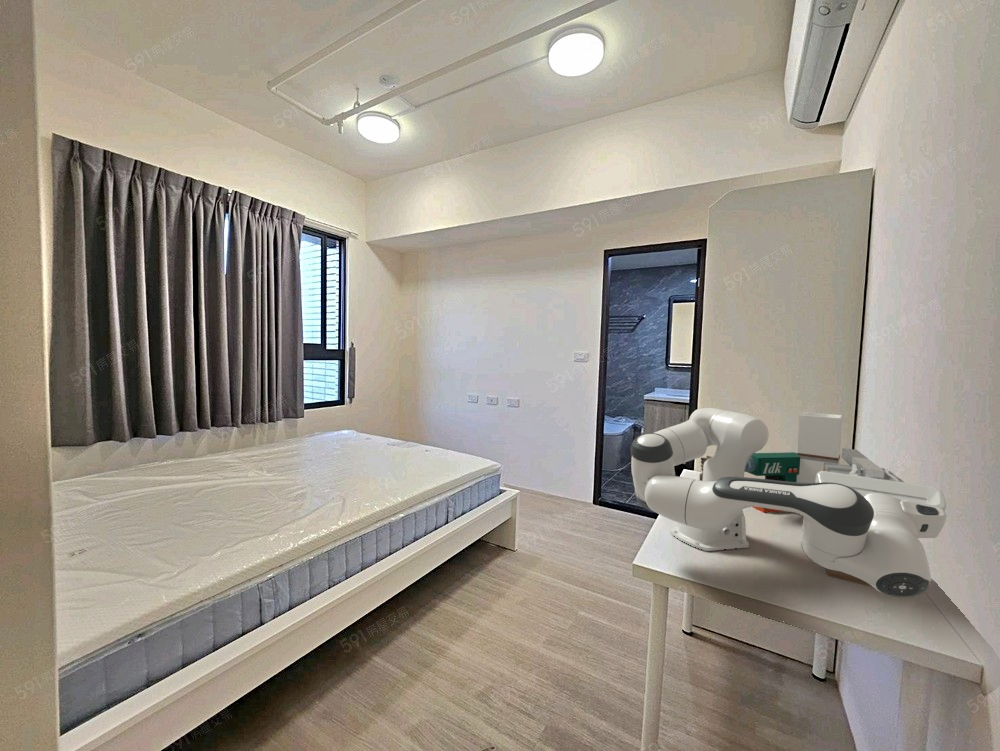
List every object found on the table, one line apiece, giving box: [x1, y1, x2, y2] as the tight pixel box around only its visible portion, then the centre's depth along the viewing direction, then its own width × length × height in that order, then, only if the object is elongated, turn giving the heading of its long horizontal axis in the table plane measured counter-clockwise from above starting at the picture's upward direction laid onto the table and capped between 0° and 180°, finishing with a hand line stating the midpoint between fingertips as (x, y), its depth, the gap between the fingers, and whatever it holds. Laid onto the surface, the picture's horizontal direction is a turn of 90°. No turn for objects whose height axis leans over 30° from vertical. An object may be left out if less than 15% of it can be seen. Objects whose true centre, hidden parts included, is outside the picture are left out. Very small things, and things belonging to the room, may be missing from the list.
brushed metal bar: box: [840, 447, 884, 479], centre depth 98 cm, size 23×3×2 cm, turn 150°
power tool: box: [744, 451, 800, 514], centre depth 149 cm, size 32×7×20 cm, turn 100°
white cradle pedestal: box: [797, 411, 843, 483], centre depth 149 cm, size 11×11×35 cm
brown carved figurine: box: [699, 455, 713, 481], centre depth 167 cm, size 6×6×15 cm
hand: (869, 468), depth 92 cm, fingers closed on brushed metal bar, 3 cm apart
